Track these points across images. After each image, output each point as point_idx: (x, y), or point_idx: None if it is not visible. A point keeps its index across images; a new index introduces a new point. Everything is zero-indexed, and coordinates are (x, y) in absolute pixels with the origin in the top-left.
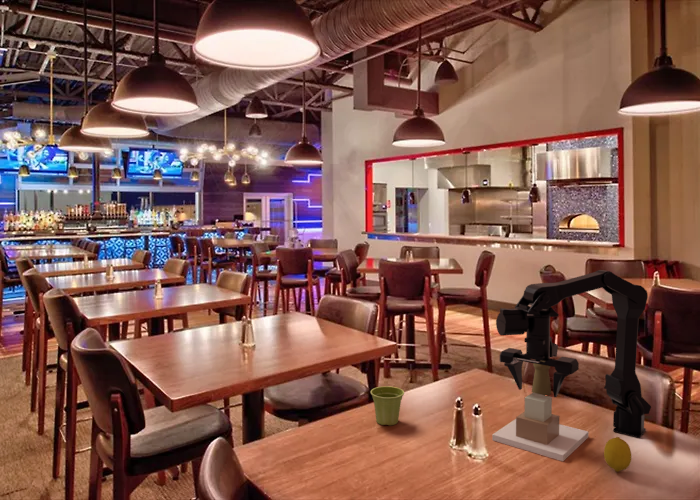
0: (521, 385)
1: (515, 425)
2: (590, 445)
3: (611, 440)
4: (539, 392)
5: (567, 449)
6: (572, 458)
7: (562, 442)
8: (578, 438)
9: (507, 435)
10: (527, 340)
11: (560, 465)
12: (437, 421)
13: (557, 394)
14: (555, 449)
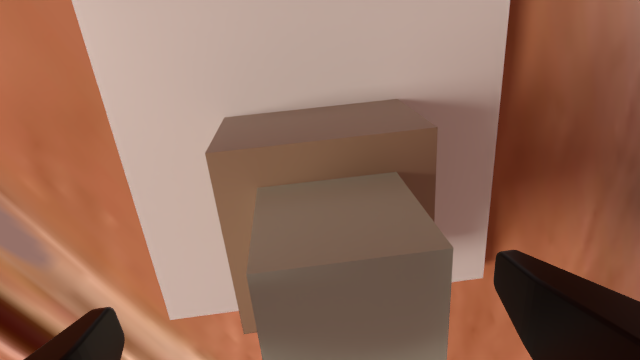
0: (97, 350)
1: (163, 156)
2: (529, 30)
3: None
4: None
5: (482, 221)
6: (493, 216)
7: (443, 173)
8: (493, 69)
9: (221, 283)
10: None
11: (472, 291)
12: None
13: (532, 261)
14: None
